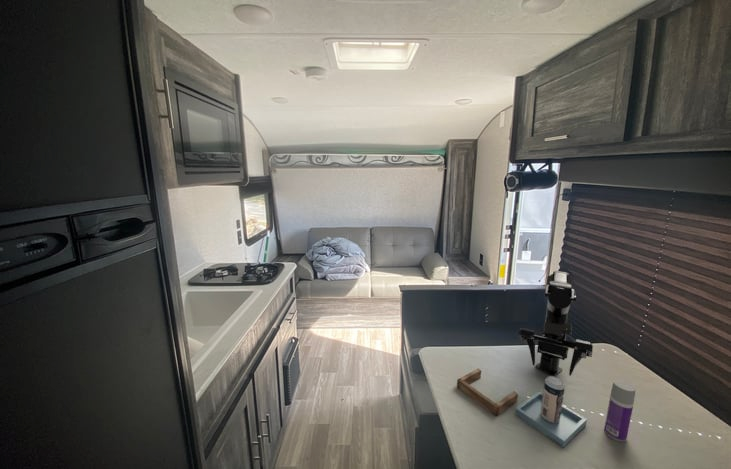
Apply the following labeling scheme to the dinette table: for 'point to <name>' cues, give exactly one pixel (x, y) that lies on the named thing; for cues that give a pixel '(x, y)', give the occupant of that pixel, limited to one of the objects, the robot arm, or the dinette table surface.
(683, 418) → the dinette table surface
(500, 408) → the frame
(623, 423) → the container
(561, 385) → the beer can
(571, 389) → the dinette table surface
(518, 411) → the tray
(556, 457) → the dinette table surface
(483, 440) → the dinette table surface
